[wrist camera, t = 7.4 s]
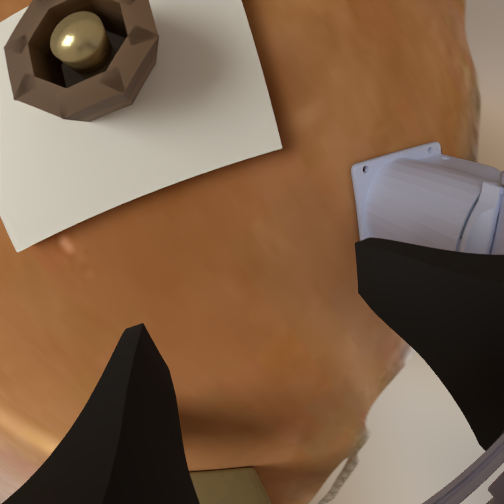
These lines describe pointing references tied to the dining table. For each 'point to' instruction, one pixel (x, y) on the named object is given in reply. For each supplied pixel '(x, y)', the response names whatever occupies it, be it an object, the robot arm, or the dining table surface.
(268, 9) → the dining table surface
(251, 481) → the cheese
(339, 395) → the dining table surface
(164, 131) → the white rectangular board
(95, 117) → the walnut bead
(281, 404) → the dining table surface
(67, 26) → the brass rod
